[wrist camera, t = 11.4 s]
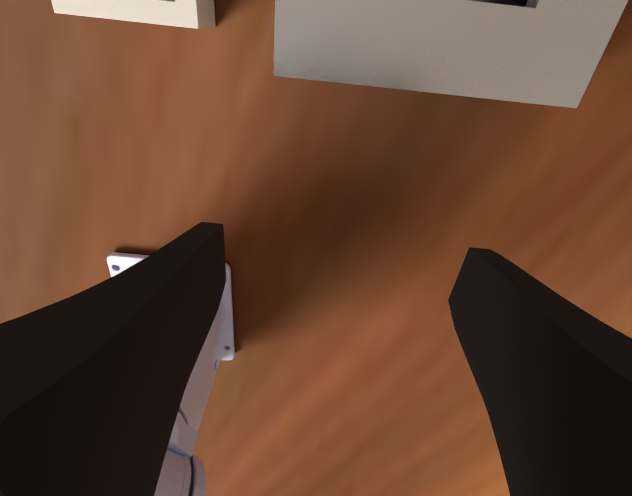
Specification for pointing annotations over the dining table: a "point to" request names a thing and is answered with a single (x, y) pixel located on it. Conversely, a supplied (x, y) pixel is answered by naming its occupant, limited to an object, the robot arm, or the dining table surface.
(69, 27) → the dining table surface
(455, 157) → the dining table surface
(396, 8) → the grey square frame block
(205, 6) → the holder
